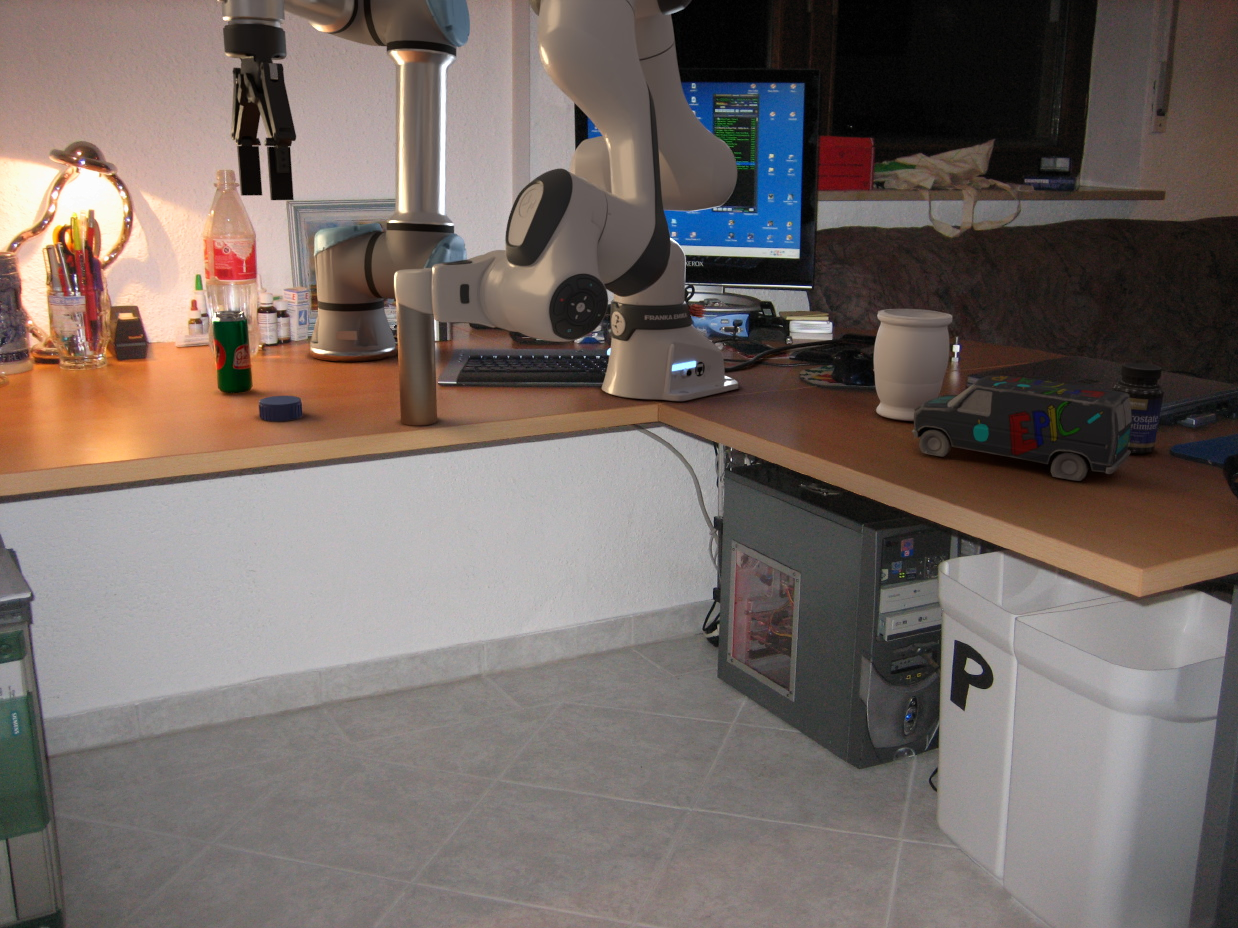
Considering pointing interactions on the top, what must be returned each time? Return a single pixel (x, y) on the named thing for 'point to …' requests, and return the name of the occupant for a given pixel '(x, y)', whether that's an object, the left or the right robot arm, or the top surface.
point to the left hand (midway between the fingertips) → (266, 198)
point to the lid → (280, 408)
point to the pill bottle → (1142, 403)
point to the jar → (909, 359)
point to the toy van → (1031, 424)
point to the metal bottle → (416, 366)
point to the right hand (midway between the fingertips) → (451, 277)
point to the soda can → (232, 352)
